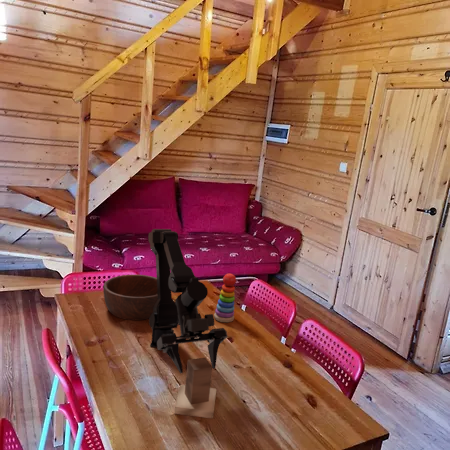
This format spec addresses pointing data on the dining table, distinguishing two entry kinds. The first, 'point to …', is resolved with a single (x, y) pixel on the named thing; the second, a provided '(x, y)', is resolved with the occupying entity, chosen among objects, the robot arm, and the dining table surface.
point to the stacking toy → (226, 300)
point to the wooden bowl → (131, 296)
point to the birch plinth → (195, 405)
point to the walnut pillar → (198, 380)
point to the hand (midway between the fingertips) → (198, 370)
